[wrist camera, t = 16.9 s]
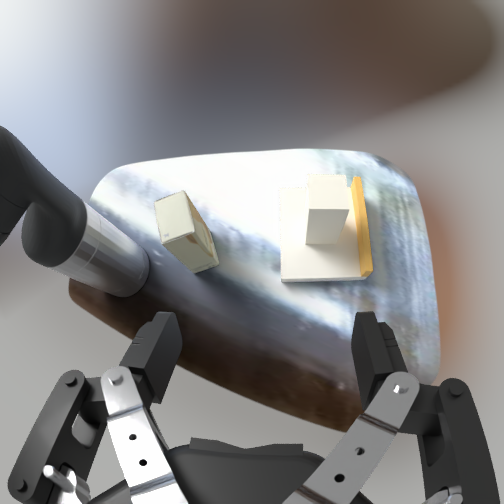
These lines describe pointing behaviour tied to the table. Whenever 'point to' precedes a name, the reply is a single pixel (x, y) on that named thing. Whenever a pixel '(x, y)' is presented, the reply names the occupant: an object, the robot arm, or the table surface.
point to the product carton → (325, 208)
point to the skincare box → (185, 232)
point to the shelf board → (320, 255)
